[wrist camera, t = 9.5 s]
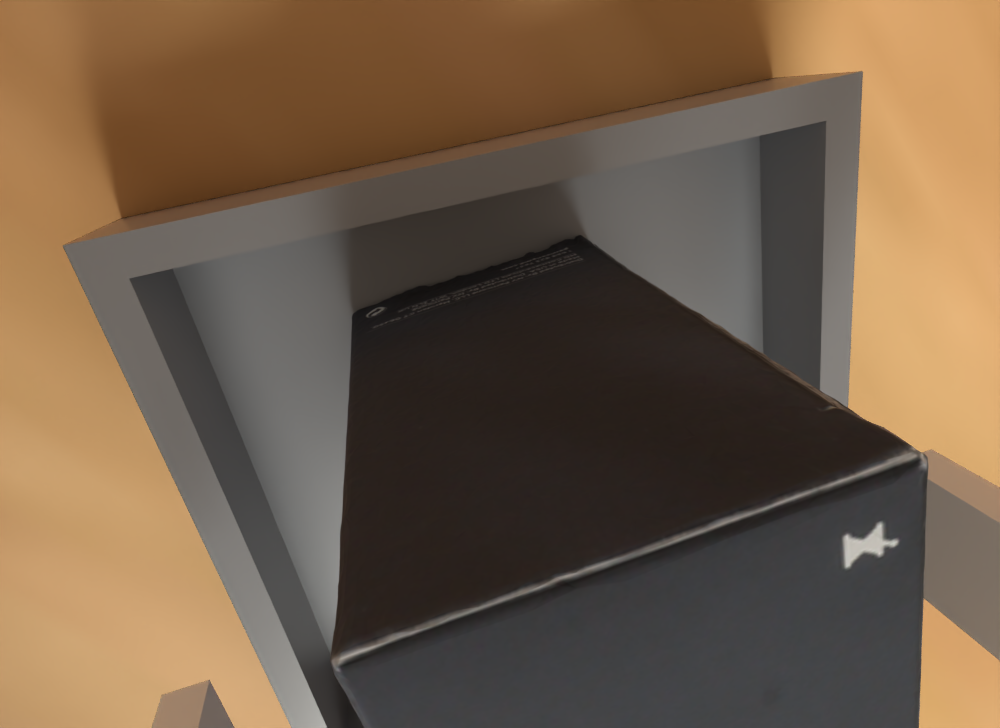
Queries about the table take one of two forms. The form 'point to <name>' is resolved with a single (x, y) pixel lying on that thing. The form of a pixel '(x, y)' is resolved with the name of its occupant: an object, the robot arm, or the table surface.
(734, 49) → the table surface
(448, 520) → the small box
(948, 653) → the table surface
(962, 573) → the robot arm
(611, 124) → the tray
